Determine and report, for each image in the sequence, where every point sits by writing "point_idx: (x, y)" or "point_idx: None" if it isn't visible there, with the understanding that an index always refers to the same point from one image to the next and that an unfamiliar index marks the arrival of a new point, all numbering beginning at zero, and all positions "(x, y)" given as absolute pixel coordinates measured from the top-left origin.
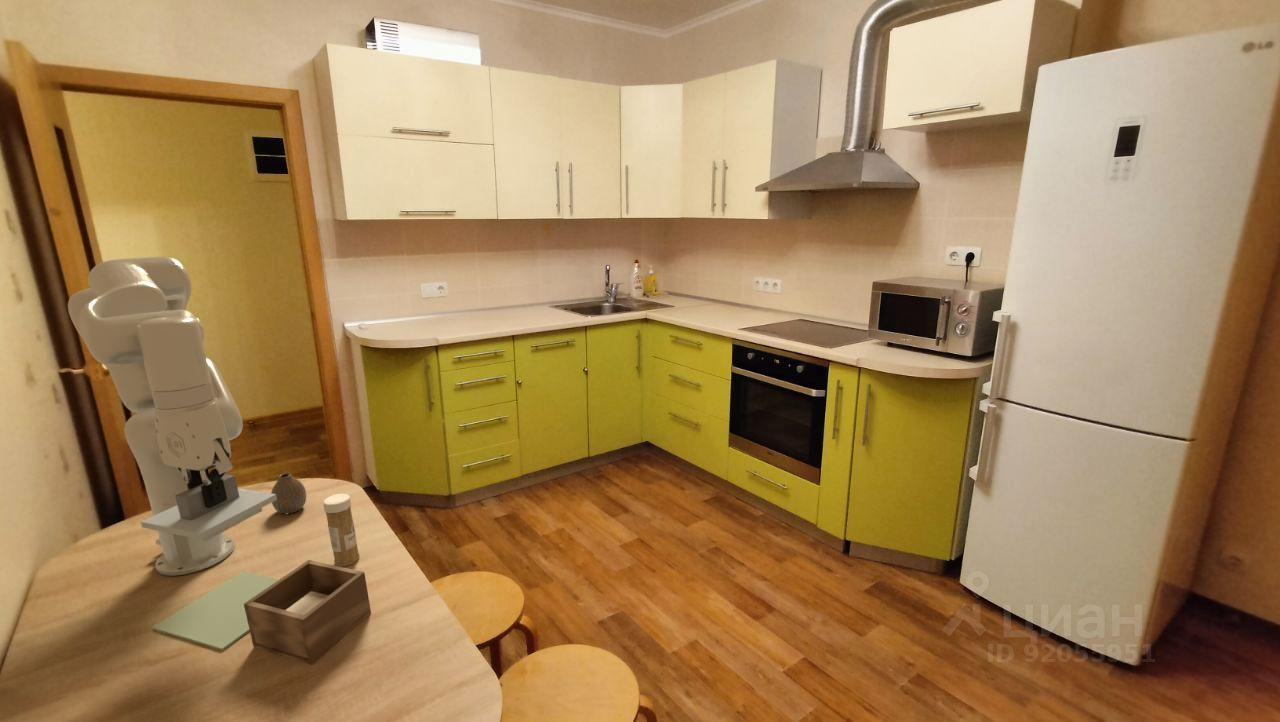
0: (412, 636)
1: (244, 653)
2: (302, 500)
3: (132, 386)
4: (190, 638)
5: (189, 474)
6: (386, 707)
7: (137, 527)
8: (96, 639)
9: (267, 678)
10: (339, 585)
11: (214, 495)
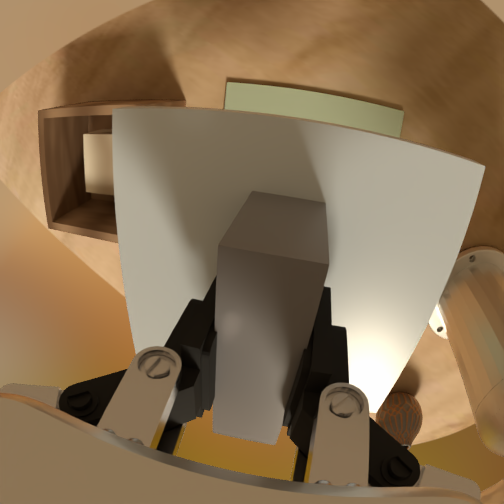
0: (34, 176)
1: (189, 86)
2: (376, 414)
3: None
4: (306, 91)
5: (314, 432)
6: (7, 91)
7: None
8: (470, 88)
9: (120, 63)
10: (100, 215)
11: (181, 316)
